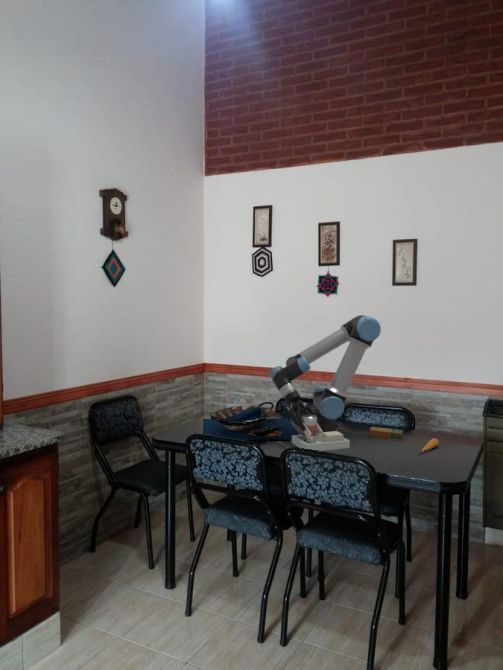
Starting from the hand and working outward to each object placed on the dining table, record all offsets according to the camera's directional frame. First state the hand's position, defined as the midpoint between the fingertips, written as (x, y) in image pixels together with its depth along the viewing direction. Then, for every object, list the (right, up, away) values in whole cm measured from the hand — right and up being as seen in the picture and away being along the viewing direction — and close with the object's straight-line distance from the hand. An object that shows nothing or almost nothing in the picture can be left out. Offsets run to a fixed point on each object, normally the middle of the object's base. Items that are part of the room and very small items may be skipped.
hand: (314, 434), depth 256 cm
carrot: (+52, -8, +1) cm, 53 cm away
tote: (+3, -7, +2) cm, 7 cm away
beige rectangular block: (+8, -6, +2) cm, 10 cm away
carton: (+39, -6, +23) cm, 45 cm away
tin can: (-3, -4, +3) cm, 5 cm away
